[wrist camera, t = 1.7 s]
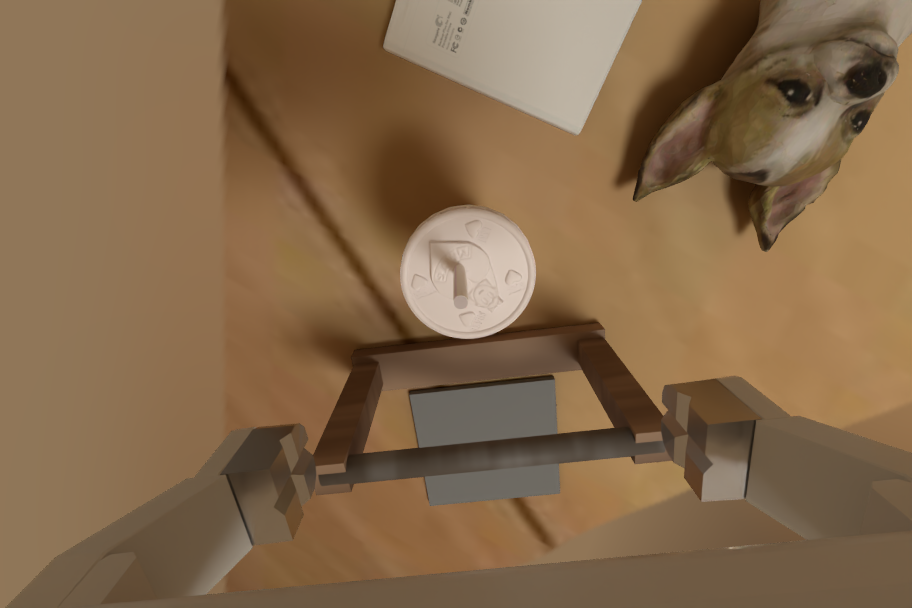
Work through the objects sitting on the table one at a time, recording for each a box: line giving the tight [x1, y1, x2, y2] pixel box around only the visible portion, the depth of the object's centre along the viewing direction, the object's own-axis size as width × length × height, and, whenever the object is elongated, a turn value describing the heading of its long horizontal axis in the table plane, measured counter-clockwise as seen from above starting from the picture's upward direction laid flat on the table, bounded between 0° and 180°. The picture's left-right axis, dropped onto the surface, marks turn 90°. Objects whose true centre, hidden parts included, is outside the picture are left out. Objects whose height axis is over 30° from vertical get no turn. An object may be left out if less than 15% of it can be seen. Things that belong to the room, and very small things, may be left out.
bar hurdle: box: [313, 323, 672, 495], centre depth 27 cm, size 3×18×12 cm, turn 97°
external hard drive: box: [383, 0, 642, 135], centre depth 24 cm, size 2×8×12 cm
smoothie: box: [400, 205, 536, 339], centre depth 22 cm, size 6×6×14 cm
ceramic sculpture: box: [633, 0, 912, 252], centre depth 22 cm, size 11×9×15 cm
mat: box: [409, 376, 560, 506], centre depth 35 cm, size 11×11×1 cm
